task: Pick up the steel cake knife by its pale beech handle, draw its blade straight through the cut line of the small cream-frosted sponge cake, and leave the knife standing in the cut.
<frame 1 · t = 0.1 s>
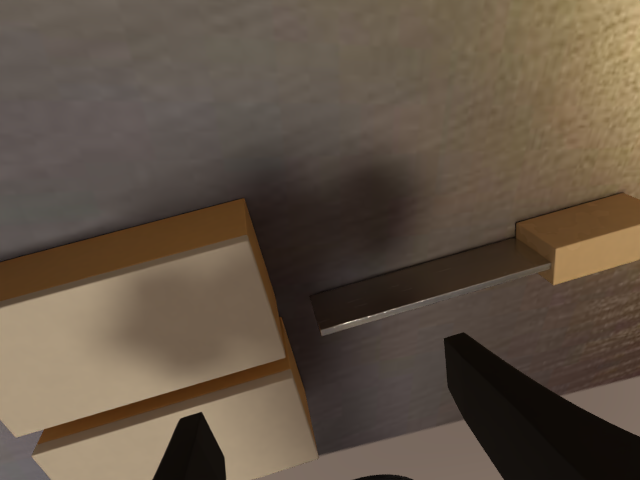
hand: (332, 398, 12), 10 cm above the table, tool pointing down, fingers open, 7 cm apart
sponge cake: (172, 337, 22), on the table
knife: (515, 239, 23), on the table
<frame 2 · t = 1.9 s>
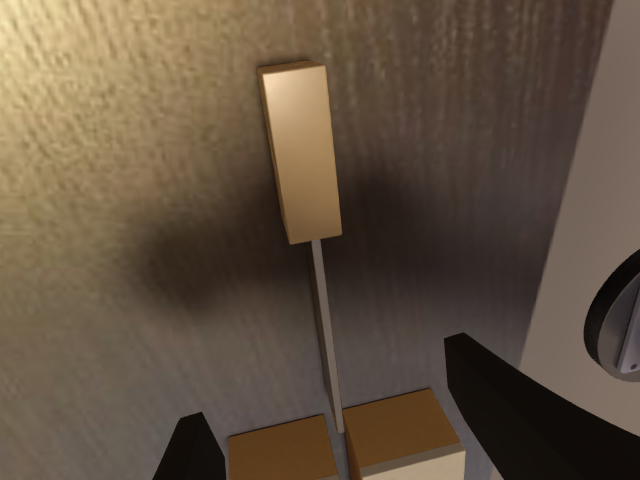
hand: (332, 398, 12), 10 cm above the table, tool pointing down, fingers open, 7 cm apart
sponge cake: (340, 469, 29), on the table
knife: (304, 211, 20), on the table
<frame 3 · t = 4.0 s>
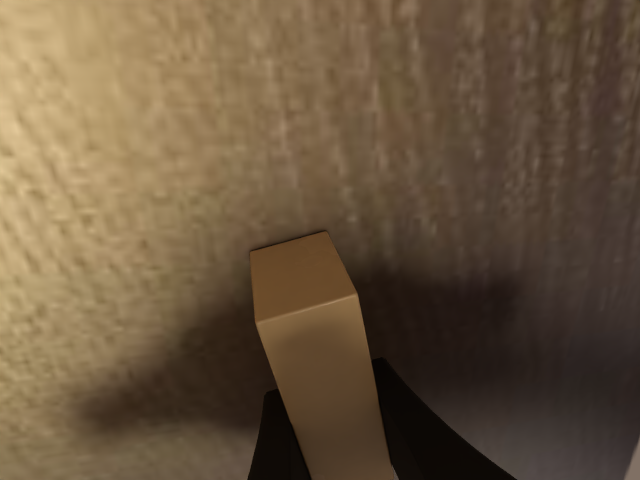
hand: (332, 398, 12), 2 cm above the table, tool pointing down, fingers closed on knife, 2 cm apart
knife: (332, 402, 14), on the table, touching gripper
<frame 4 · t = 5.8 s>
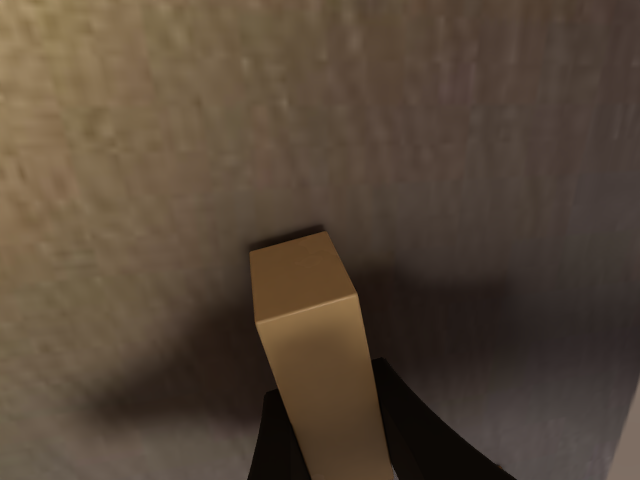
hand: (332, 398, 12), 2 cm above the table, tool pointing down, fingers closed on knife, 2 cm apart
knife: (332, 402, 14), on the table, touching gripper
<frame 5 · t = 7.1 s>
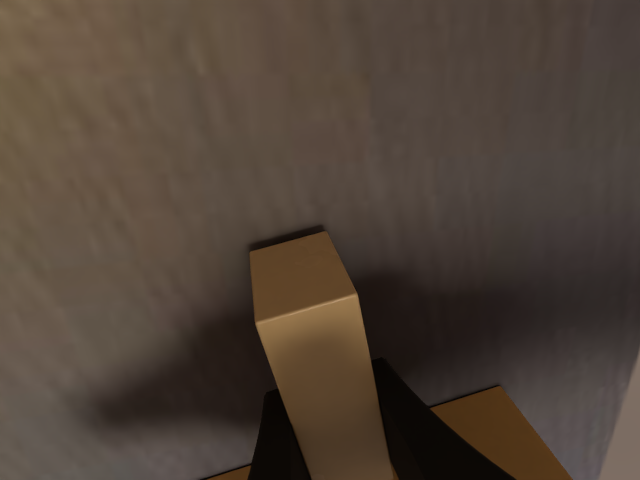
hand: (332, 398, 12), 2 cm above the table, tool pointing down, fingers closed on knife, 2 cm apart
knife: (332, 402, 14), on the table, touching gripper
when the fingers open (2 cm above the table, at t = 7.7 s): knife stays where it is, on the table.
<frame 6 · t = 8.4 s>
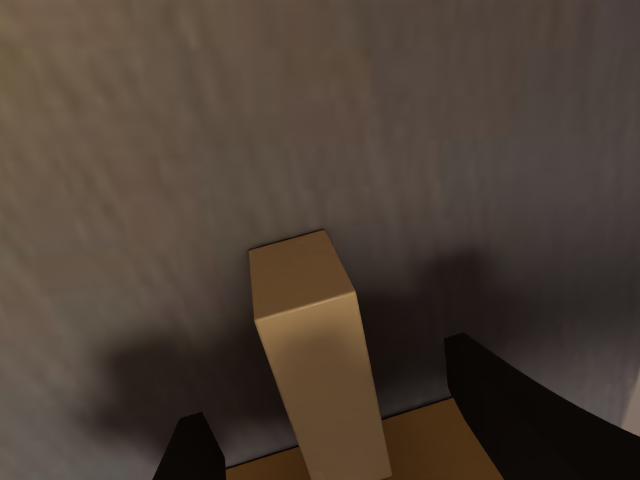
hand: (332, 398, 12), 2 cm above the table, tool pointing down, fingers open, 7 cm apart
knife: (331, 400, 14), on the table
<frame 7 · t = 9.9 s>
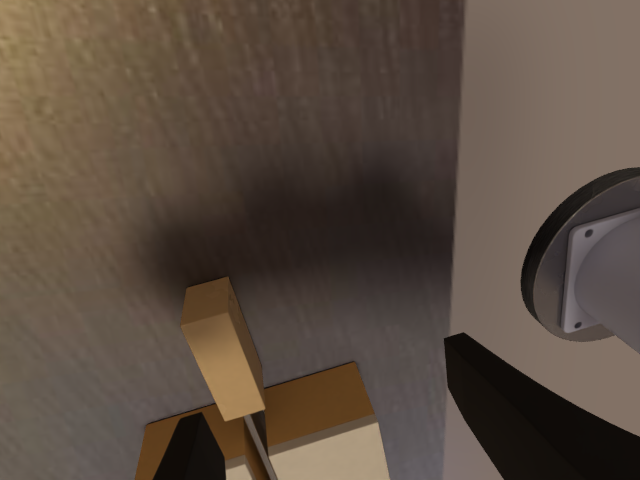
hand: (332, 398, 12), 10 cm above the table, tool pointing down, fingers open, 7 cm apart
sponge cake: (276, 451, 28), on the table
knife: (243, 371, 24), on the table
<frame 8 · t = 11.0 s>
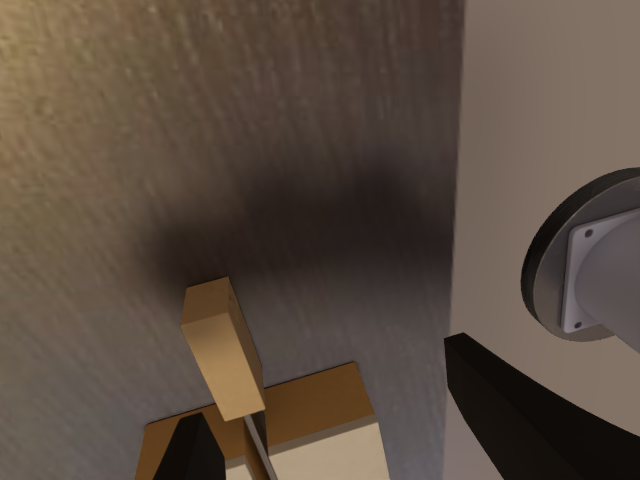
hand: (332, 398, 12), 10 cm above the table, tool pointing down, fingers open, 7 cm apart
sponge cake: (276, 451, 28), on the table
knife: (243, 371, 24), on the table
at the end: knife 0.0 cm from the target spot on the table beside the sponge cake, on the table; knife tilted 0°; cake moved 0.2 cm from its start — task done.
